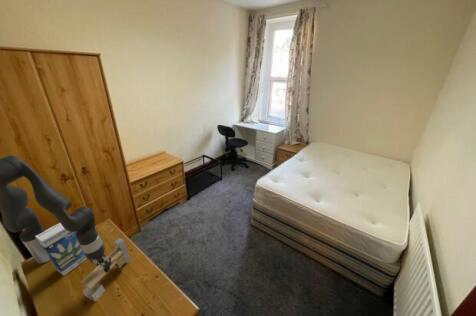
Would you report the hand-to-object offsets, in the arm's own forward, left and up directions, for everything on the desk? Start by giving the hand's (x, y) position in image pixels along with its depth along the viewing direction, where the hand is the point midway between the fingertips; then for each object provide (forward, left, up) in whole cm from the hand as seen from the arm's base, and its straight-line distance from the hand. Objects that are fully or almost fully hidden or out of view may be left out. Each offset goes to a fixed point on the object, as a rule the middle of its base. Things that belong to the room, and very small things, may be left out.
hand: (104, 269), depth 97 cm
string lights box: (-27, +1, -8) cm, 28 cm away
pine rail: (0, 0, -1) cm, 1 cm away
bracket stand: (0, +1, -8) cm, 8 cm away
